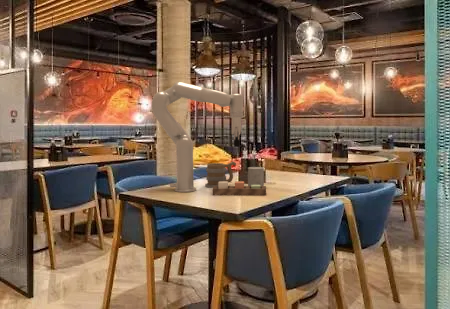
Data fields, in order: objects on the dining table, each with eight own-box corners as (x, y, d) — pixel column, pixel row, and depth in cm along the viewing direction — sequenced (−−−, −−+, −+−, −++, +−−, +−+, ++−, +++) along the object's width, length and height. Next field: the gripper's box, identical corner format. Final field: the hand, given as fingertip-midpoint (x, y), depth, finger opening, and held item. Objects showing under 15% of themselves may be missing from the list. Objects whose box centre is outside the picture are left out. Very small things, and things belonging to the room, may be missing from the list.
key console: (212, 195, 223) (212, 188, 223) (214, 192, 233) (214, 185, 233) (266, 195, 221) (266, 189, 220) (265, 192, 231) (265, 186, 230)
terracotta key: (234, 190, 224) (234, 182, 224) (235, 189, 229) (235, 181, 229) (243, 190, 224) (243, 182, 224) (244, 189, 229) (244, 181, 229)
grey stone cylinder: (266, 187, 246) (266, 167, 245) (259, 190, 238) (259, 169, 237) (252, 186, 251) (252, 166, 250) (245, 189, 242) (244, 168, 241)
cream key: (218, 190, 225) (218, 182, 225) (219, 189, 230) (219, 181, 230) (227, 190, 225) (227, 182, 224) (228, 189, 230) (228, 181, 229)
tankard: (210, 188, 244) (209, 163, 243) (203, 185, 256) (202, 161, 255) (240, 186, 252) (240, 162, 250) (232, 183, 263) (232, 160, 262)
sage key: (251, 194, 224) (251, 186, 224) (251, 192, 229) (251, 184, 228) (260, 194, 224) (260, 186, 223) (260, 192, 228) (260, 184, 228)
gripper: (230, 115, 246) (231, 146, 248) (229, 115, 231) (229, 147, 233) (243, 115, 245) (243, 145, 247) (242, 115, 231) (242, 147, 232)
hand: (236, 146), depth 240 cm, fingers closed
